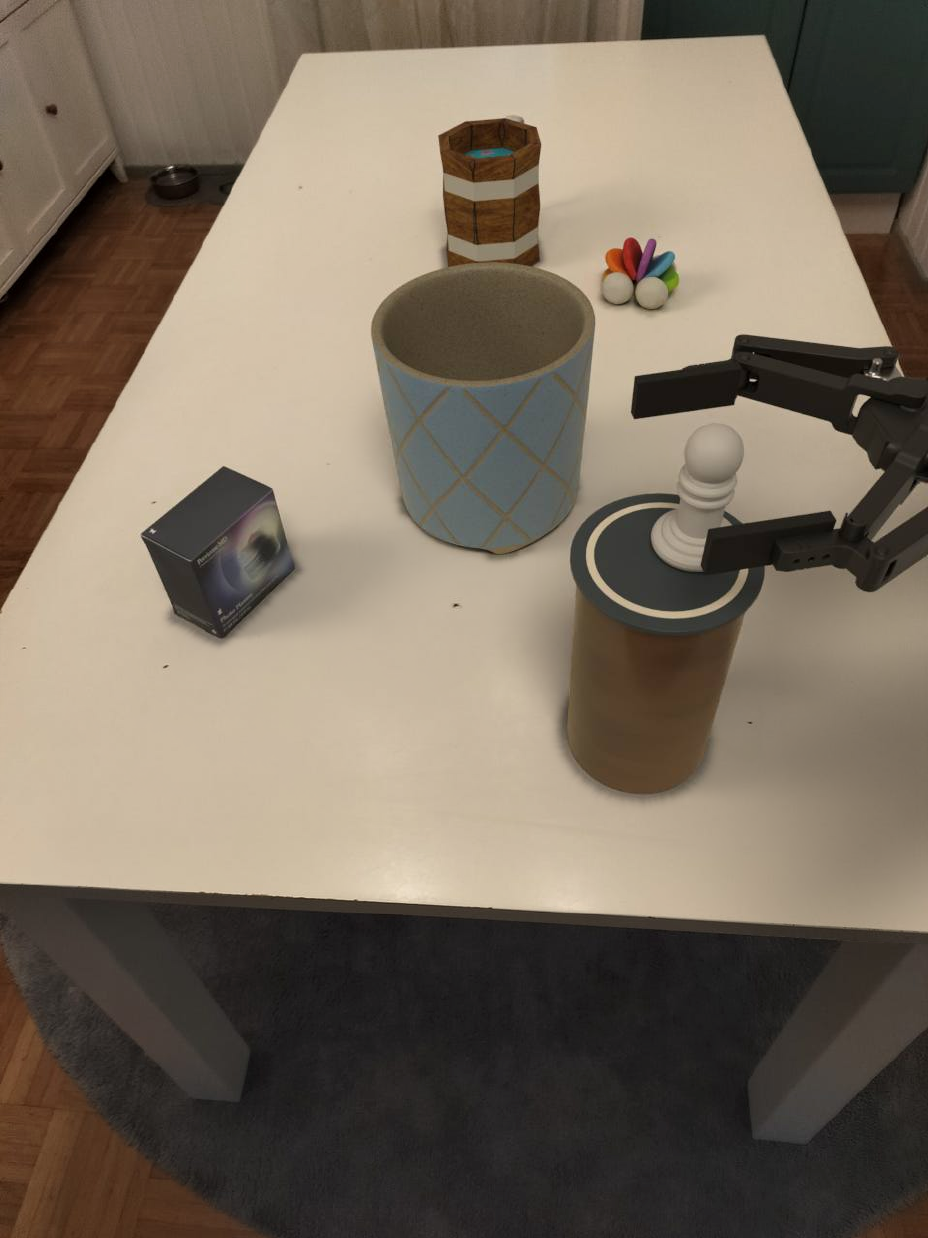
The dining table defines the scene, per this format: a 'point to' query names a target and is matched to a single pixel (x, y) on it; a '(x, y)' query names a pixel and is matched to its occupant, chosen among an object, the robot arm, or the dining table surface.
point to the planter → (486, 399)
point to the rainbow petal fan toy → (639, 274)
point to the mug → (491, 191)
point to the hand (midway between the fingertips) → (666, 468)
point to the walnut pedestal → (643, 699)
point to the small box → (220, 550)
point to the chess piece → (700, 496)
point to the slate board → (653, 573)
